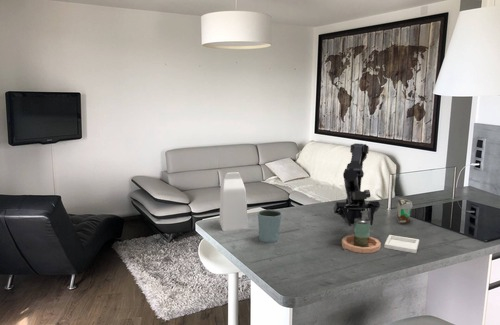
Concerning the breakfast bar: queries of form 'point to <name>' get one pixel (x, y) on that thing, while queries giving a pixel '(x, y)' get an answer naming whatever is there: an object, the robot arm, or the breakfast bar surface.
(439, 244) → the breakfast bar surface
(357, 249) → the bowl
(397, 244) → the tray
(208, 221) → the breakfast bar surface
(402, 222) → the food container
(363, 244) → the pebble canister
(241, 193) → the milk
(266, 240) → the blue-grey cup
